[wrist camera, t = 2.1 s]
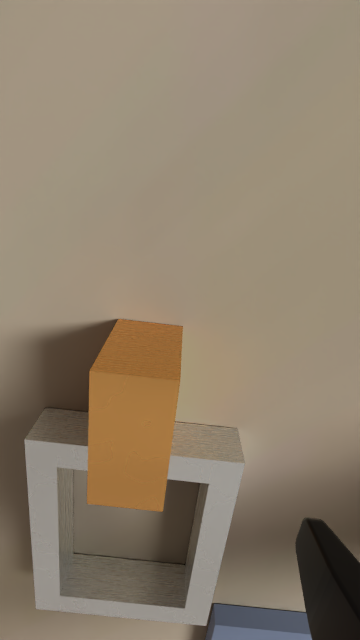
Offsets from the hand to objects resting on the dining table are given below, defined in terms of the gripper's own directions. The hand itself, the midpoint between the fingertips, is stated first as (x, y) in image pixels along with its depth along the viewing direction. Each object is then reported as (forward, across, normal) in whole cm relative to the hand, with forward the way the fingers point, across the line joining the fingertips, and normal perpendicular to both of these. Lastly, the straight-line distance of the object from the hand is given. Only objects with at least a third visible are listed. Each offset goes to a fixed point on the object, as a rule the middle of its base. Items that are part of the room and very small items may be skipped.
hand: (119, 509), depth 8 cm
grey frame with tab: (+6, 0, +5) cm, 8 cm away
